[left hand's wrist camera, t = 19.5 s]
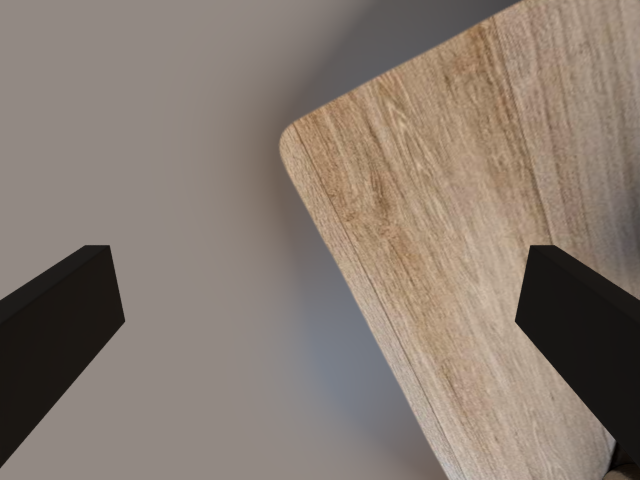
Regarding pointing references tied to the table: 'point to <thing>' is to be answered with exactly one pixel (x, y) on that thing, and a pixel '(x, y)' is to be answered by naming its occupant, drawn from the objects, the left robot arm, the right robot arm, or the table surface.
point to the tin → (624, 473)
